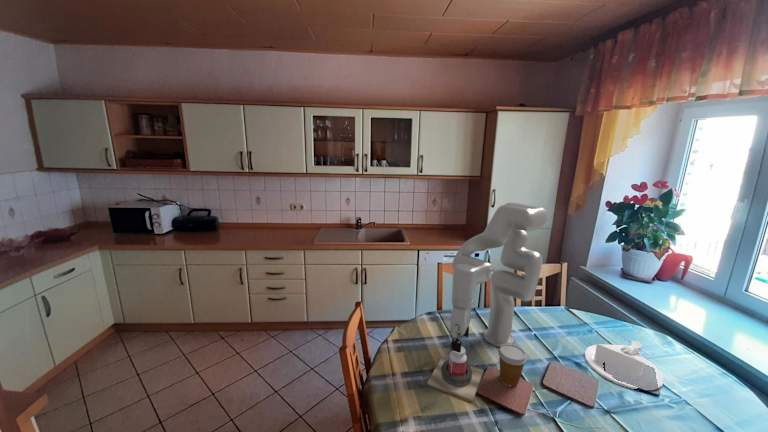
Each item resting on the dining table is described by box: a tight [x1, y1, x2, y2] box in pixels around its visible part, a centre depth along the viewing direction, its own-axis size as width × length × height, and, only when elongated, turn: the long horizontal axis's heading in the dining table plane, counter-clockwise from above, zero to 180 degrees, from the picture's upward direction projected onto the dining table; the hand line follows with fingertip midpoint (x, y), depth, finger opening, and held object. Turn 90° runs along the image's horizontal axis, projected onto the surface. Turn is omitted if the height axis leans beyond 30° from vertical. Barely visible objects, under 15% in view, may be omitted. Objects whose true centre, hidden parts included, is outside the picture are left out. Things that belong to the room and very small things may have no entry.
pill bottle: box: [448, 345, 468, 377], centre depth 116 cm, size 6×6×11 cm
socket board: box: [427, 356, 484, 403], centre depth 117 cm, size 16×16×4 cm
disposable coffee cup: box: [497, 344, 528, 387], centre depth 116 cm, size 10×10×12 cm
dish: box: [584, 340, 665, 390], centre depth 124 cm, size 25×25×11 cm
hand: (460, 342), depth 114 cm, fingers open, 9 cm apart
